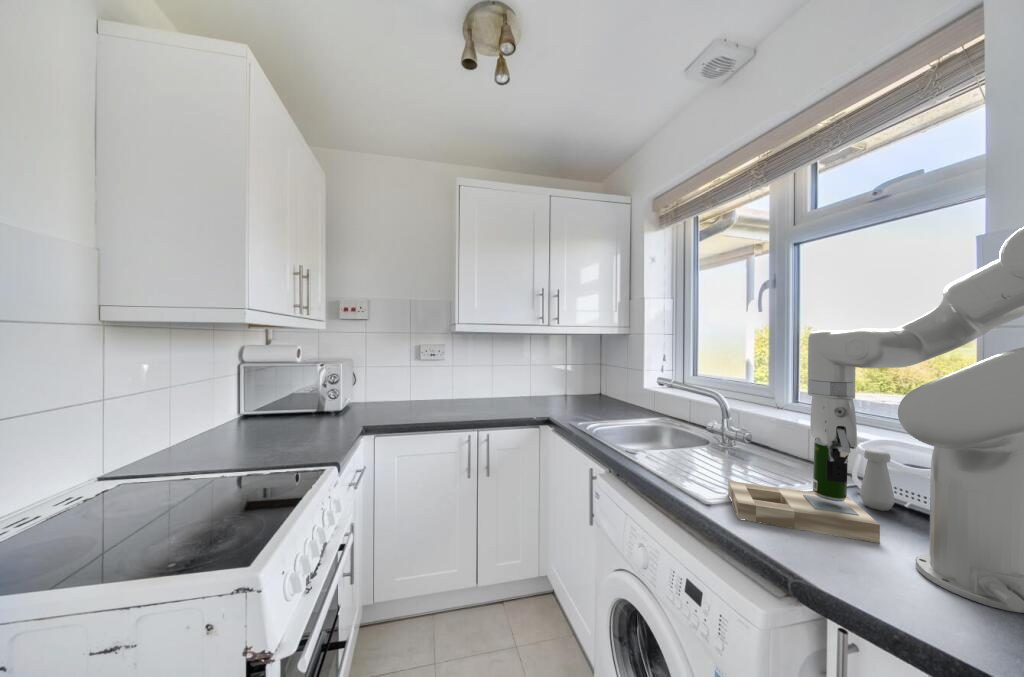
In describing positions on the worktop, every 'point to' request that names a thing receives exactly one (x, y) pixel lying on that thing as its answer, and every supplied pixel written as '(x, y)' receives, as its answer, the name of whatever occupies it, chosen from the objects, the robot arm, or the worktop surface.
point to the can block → (802, 511)
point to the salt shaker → (877, 481)
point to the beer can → (820, 483)
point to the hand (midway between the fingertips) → (830, 475)
